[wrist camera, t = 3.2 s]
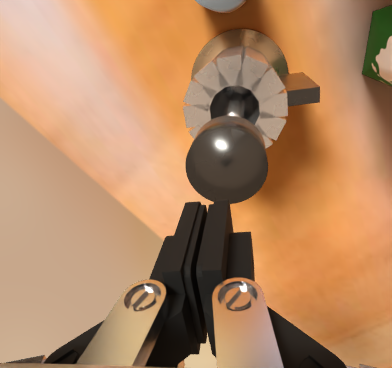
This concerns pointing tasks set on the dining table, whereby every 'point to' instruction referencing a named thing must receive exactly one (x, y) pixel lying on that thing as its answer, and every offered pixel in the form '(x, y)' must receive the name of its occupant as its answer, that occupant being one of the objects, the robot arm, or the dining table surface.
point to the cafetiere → (245, 83)
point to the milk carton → (380, 47)
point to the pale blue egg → (221, 5)
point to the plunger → (228, 157)
